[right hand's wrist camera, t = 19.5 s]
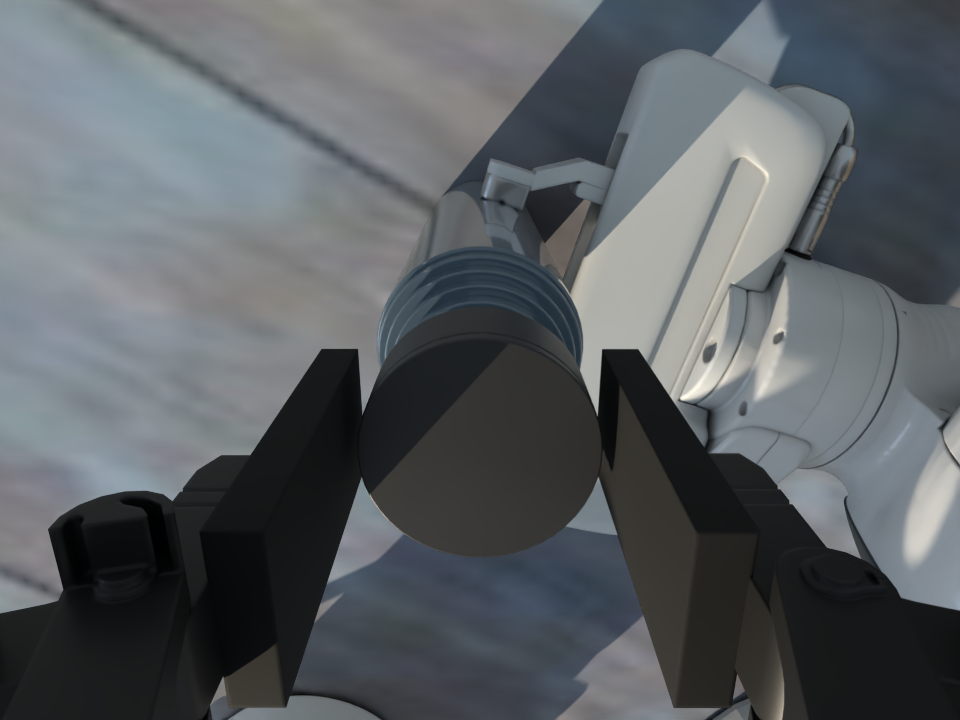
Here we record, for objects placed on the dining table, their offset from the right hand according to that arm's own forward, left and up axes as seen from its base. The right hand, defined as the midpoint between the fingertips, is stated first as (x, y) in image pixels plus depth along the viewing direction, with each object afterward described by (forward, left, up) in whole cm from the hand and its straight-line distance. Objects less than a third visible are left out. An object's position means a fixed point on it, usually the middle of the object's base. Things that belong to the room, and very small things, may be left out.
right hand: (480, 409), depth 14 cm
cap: (0, 0, +2) cm, 2 cm away
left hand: (0, -1, -15) cm, 15 cm away
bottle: (0, 0, -22) cm, 22 cm away
